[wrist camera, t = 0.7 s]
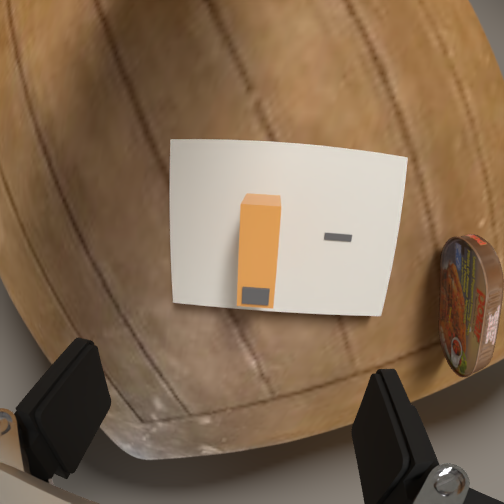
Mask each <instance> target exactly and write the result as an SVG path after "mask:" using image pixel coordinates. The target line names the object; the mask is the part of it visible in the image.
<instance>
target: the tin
mask: <svg viewBox="0 0 504 504" xmlns="http://www.w3.org/2000/svg"><path fill="white" fill-rule="evenodd" d="M503 290H504V279H503V272H502V267H501V264H500V261H499V258H498V256H497V254H496V252H495V250H494V248H493V247H492V246H491V244H490V243H488V242H487V241H486V240H485V239H483V238H482V237H480V236H478V235H475V234H469V235H464V236H461V237H452V238H450V239H449V240H448V241H447V242H446V244H445V245H444V247H443V250H442V254H441V263H440V311H439V336H440V342H441V346H442V350H443V352H444V355H445V358H446V360H447V362H448V364H449V366H450V367H451V369H452V370H453V371H454V372H455V373H456V374H457V375H458V376H460V377H468V376H470V375H471V374H472V373H475V372H477V371H479V370H481V369H483V368H484V367H486V366H487V365H488V363H489V362H490V360H491V358H492V356H493V352H494V347H495V343H496V337H497V332H498V326H499V320H500V314H501V307H502V299H503Z"/></svg>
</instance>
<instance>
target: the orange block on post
mask: <svg viewBox="0 0 504 504" xmlns="http://www.w3.org/2000/svg"><path fill="white" fill-rule="evenodd" d="M280 220H281V198H280V195H267V194H251V193H247V194H246V195H245V197H244V199H243V201H242V202H241V206H240V230H239V255H238V283H237V306H244V307H258V308H272V309H273V306H274V295H275V283H276V271H277V259H278V246H279V234H280Z"/></svg>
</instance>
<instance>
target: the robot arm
mask: <svg viewBox="0 0 504 504" xmlns="http://www.w3.org/2000/svg"><path fill="white" fill-rule="evenodd" d="M110 406H111V398H110V395H109V391H108V387H107V384H106V380H105V376H104V372H103V368H102V364H101V360H100V356H99V352H98V348H97V346H95V345H94V343H93V341H91V340H87V339H82V338H76V339H75V340H74V341H73V342H72V343H71V344H70V345H69V346H68V348H67V349H66V350H65V351H64V352H63V353H62V354H61V355H60V357H59V358H58V359H57V360H56V361H55V362H54V363H53V364H52V366H51V367H50V368H49V369H48V370H47V371H46V373H45V374H44V375H43V376H42V377H41V378H40V380H39V381H38V382H37V383H36V384H35V385H34V387H33V388H32V389H31V390H30V391H29V393H28V394H27V395H26V396H25V398H24V399H23V400H22V401H21V402H20V403H19V405H18V406H17V407H16V410H17V411H16V412H15V414H13V413H12V412H11V411H9V410H7V409H3V408H0V504H99V503H95V502H93V501H90V500H88V499H85V498H82V497H80V496H77V495H75V494H72V493H70V492H68V491H65V490H63V489H60V488H58V487H56V486H54V484H53V481H52V477H53V475H54V473H55V474H56V475H58V476H61V477H63V478H65V479H67V478H68V477H69V475H70V473H74V472H75V471H76V469H77V467H78V465H79V463H80V461H81V460H82V458H83V456H84V454H85V452H86V450H87V448H88V447H89V445H90V443H91V441H92V439H93V437H94V436H95V434H96V432H97V430H98V428H99V427H100V425H101V423H102V421H103V419H104V418H105V416H106V414H107V412H108V410H109V409H110ZM352 438H353V444H354V449H355V454H356V459H357V464H358V469H359V475H360V480H361V486H362V492H363V497H364V503H365V504H504V503H503V502H501V501H499V500H496V499H494V498H492V497H489V496H487V495H485V494H482V493H480V492H478V491H476V490H474V489H471V488H469V484H470V482H469V477H468V475H467V473H466V472H465V471H464V470H463V469H462V468H461V467H459V466H457V465H455V464H450V463H449V464H448V463H446V464H441V465H439V463H438V461H437V457H436V455H435V452H434V450H433V447H432V445H431V442H430V440H429V438H428V435H427V433H426V430H425V428H424V426H423V423H422V421H421V418H420V416H419V414H418V412H417V409H416V408H415V406H413V405H411V403H410V401H409V399H408V397H407V394H406V392H405V390H404V387H403V385H402V383H401V381H400V379H399V376H398V374H397V372H396V370H395V369H379V370H377V372H376V374H372V375H371V377H370V380H369V383H368V386H367V388H366V391H365V394H364V397H363V400H362V402H361V405H360V408H359V410H358V413H357V415H356V418H355V421H354V423H353V426H352Z"/></svg>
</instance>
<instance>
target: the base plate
mask: <svg viewBox="0 0 504 504" xmlns="http://www.w3.org/2000/svg"><path fill="white" fill-rule="evenodd" d="M407 159H408V158H407V157H401V156H395V155H389V154H382V153H376V152H369V151H361V150H354V149H346V148H337V147H328V146H319V145H308V144H297V143H283V142H268V141H249V140H220V139H171V140H170V247H171V273H172V293H173V303H182V304H192V305H202V306H212V307H223V308H235V309H248V310H261V311H276V312H291V313H309V314H330V315H357V316H381V313H382V309H383V305H384V301H385V296H386V292H387V288H388V283H389V278H390V273H391V269H392V264H393V258H394V253H395V248H396V242H397V236H398V230H399V224H400V217H401V211H402V203H403V196H404V188H405V179H406V170H407ZM247 193H251V194H267V195H280V198H281V220H280V234H279V246H278V259H277V271H276V283H275V295H274V306H273V309H272V308H258V307H244V306H237V283H238V255H239V230H240V206H241V202H242V201H243V199H244V197H245V195H246V194H247Z"/></svg>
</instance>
